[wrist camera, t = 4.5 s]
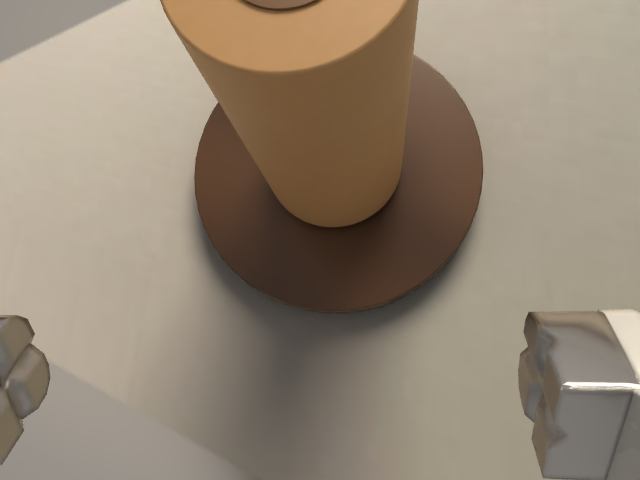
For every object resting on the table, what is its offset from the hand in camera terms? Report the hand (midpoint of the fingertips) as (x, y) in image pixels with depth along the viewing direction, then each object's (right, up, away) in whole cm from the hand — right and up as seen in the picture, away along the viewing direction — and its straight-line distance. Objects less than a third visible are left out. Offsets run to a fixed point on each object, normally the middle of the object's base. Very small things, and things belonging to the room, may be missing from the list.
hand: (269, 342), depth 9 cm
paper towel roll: (+1, +5, +18) cm, 18 cm away
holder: (+2, +5, +19) cm, 20 cm away
